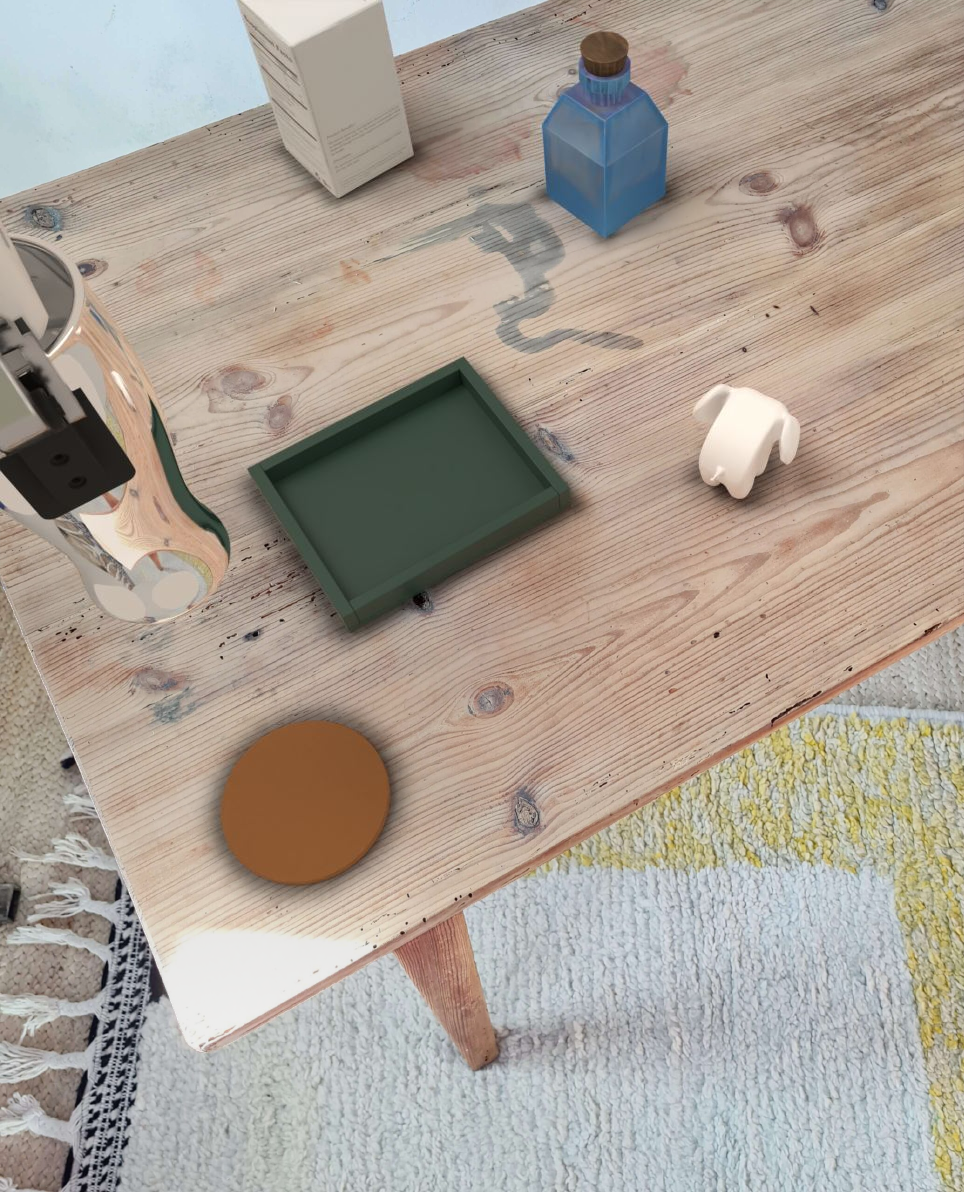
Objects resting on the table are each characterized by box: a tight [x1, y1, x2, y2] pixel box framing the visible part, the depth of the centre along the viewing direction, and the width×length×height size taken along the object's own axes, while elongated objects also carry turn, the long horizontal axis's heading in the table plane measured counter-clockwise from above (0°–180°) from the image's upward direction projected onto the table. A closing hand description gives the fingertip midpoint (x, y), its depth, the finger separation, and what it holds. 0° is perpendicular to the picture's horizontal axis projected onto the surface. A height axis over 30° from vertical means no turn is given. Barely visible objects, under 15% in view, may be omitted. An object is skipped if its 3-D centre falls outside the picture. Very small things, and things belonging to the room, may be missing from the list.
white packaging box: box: [236, 0, 415, 199], centre depth 77 cm, size 7×7×13 cm
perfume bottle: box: [541, 30, 669, 239], centre depth 75 cm, size 6×6×12 cm
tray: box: [246, 355, 572, 634], centre depth 67 cm, size 16×13×2 cm
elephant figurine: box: [691, 383, 801, 500], centre depth 66 cm, size 7×8×6 cm
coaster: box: [220, 720, 391, 886], centre depth 58 cm, size 9×9×1 cm
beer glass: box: [0, 232, 232, 626], centre depth 39 cm, size 7×7×15 cm
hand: (44, 412), depth 36 cm, fingers closed on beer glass, 7 cm apart
